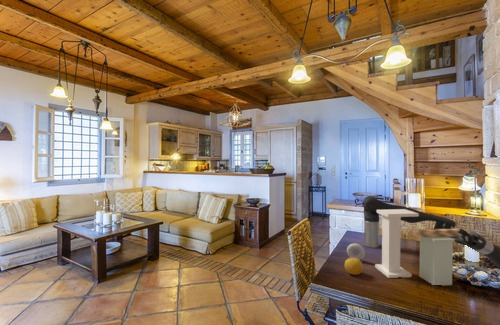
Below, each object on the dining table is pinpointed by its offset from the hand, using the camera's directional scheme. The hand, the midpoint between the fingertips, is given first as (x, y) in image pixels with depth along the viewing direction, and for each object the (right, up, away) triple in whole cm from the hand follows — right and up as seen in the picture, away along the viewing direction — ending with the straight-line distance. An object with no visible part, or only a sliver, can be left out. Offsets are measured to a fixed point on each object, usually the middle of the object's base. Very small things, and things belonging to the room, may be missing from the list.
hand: (451, 227), depth 119 cm
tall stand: (-21, -26, +10) cm, 35 cm away
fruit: (-44, -26, +8) cm, 52 cm away
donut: (-36, -26, +24) cm, 51 cm away
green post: (-8, -26, 0) cm, 27 cm away
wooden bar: (-8, -4, 0) cm, 9 cm away
